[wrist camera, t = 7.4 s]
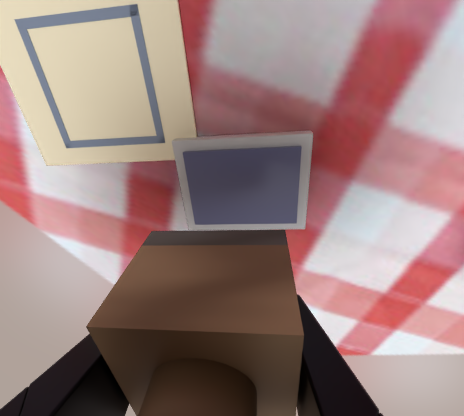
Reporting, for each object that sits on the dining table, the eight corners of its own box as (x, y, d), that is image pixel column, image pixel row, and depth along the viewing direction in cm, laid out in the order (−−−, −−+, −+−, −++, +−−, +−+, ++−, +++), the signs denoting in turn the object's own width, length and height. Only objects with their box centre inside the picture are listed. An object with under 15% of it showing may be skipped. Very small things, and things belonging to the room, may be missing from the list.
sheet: (173, -31, 12) (172, -33, 12) (200, 158, 17) (199, 159, 17) (-28, -3, 14) (-33, -4, 14) (48, 164, 18) (45, 165, 18)
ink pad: (310, 130, 16) (314, 134, 14) (302, 221, 19) (305, 231, 18) (176, 137, 17) (170, 142, 15) (191, 223, 20) (187, 232, 19)
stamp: (284, 229, 8) (332, 496, 3) (281, 321, 10) (305, 564, 5) (151, 231, 8) (-5, 457, 3) (176, 317, 10) (103, 533, 5)
